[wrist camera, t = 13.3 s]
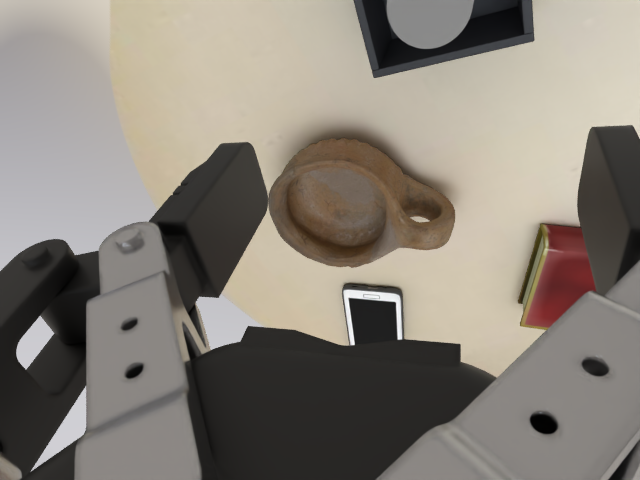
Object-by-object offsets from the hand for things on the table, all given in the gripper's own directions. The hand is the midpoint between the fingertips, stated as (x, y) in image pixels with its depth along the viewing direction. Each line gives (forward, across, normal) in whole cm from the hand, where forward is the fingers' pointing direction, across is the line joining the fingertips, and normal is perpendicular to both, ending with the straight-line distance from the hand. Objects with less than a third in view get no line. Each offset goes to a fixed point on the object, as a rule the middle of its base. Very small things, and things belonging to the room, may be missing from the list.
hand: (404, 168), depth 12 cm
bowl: (+33, +9, +21) cm, 40 cm away
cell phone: (+32, +11, +44) cm, 56 cm away
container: (+32, +1, +1) cm, 32 cm away
